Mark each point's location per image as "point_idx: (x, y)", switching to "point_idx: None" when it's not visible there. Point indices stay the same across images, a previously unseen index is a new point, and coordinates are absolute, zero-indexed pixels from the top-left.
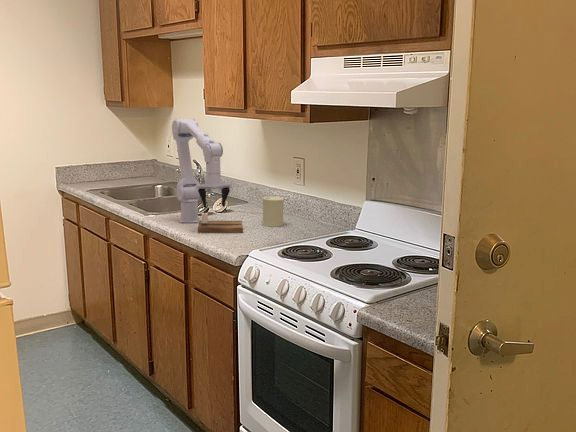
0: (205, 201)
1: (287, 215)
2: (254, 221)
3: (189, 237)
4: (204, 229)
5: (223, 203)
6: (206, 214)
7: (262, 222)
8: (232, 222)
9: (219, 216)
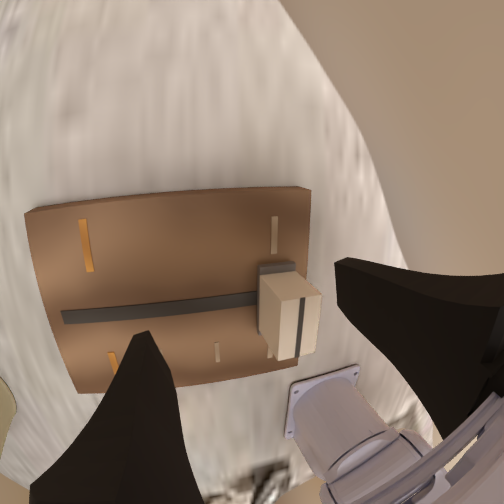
0: (384, 276)
1: (10, 474)
2: (58, 431)
3: (334, 88)
4: (269, 189)
5: (143, 347)
6: (288, 309)
7: (7, 396)
8: (111, 352)
9: (210, 471)
